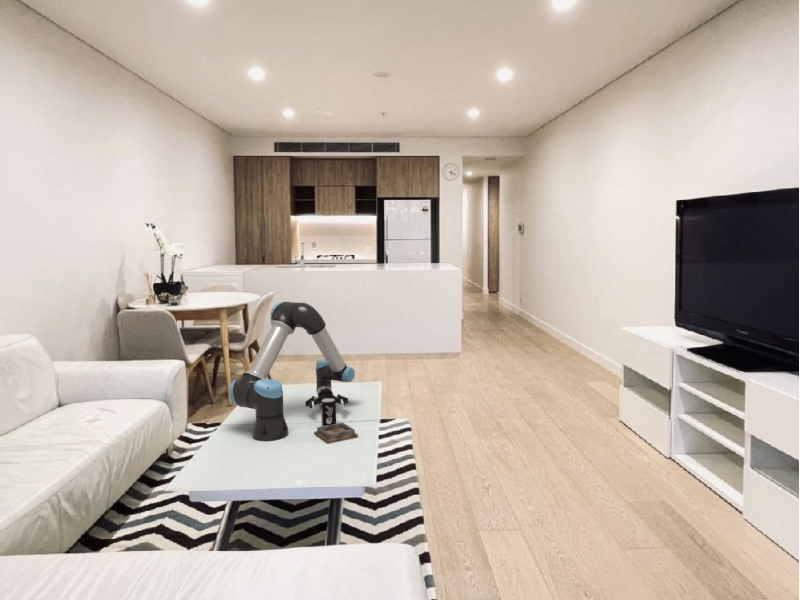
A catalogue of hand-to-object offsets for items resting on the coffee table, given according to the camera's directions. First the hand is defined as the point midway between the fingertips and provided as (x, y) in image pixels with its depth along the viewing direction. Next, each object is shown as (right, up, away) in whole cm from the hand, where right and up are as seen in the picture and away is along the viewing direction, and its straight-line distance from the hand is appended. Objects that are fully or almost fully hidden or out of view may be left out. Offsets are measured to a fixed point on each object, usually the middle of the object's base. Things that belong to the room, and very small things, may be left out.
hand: (328, 406), depth 264 cm
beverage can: (+1, -7, -7) cm, 10 cm away
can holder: (+6, -8, -21) cm, 23 cm away
